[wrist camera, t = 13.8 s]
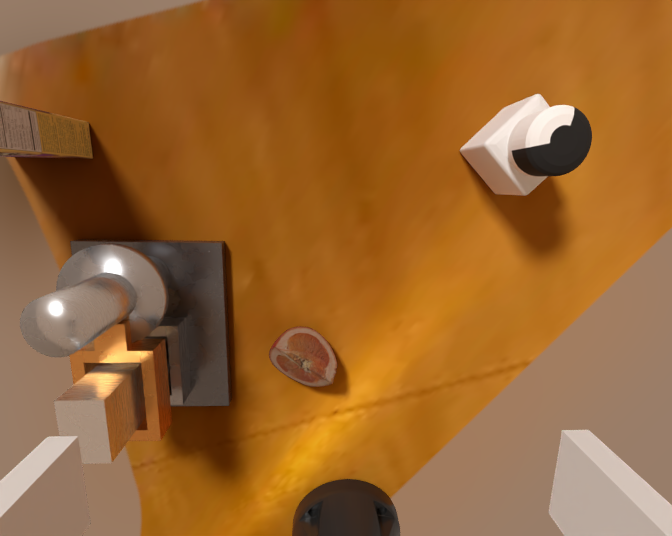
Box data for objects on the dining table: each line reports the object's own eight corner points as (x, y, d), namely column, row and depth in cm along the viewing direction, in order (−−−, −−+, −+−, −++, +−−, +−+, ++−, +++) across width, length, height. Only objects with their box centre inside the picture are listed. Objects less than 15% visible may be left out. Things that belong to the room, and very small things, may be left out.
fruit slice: (345, 347, 49) (348, 365, 44) (314, 385, 50) (313, 407, 45) (293, 311, 48) (290, 325, 43) (262, 350, 49) (255, 369, 44)
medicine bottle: (541, 153, 45) (619, 142, 33) (494, 195, 46) (555, 199, 34) (504, 106, 44) (573, 77, 32) (457, 150, 44) (507, 138, 33)
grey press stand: (231, 399, 50) (184, 515, 32) (98, 400, 49) (-24, 520, 32) (224, 232, 45) (164, 263, 28) (77, 230, 44) (-81, 260, 27)
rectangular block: (175, 377, 47) (111, 463, 33) (142, 377, 47) (63, 463, 32) (172, 331, 46) (103, 400, 31) (138, 331, 46) (53, 400, 31)
